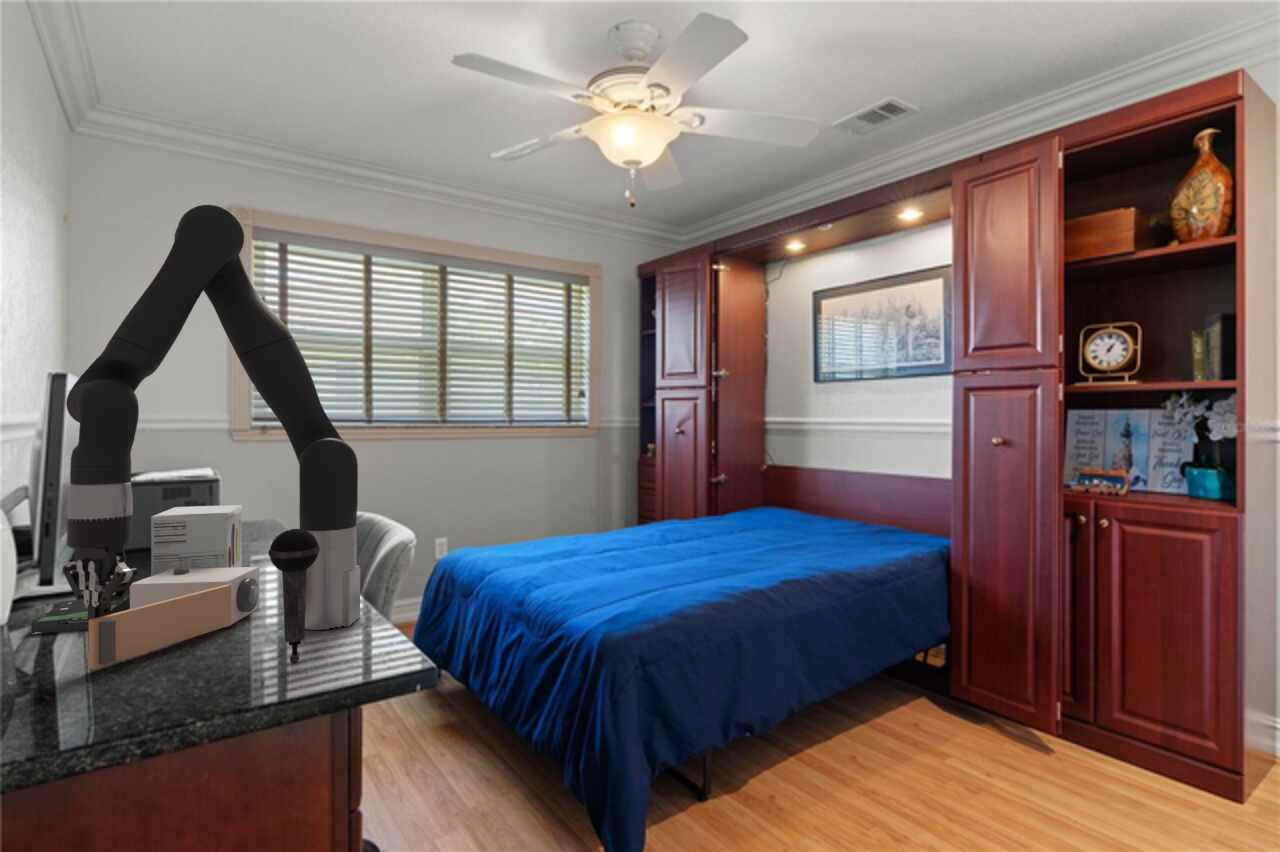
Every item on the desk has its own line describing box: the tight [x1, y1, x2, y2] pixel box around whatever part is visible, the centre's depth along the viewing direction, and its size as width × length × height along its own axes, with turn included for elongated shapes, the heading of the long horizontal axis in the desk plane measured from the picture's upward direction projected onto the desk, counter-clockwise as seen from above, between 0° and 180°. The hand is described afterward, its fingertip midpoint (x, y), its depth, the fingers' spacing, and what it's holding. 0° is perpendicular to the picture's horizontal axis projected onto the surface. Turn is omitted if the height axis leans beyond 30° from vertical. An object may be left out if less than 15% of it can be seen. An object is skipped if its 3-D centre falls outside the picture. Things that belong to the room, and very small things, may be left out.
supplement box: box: [150, 504, 243, 577], centre depth 137 cm, size 17×13×18 cm
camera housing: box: [129, 566, 260, 628], centre depth 120 cm, size 18×12×9 cm
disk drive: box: [30, 595, 130, 633], centre depth 120 cm, size 10×3×15 cm
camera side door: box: [88, 585, 232, 670], centre depth 104 cm, size 22×2×7 cm, turn 162°
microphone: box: [267, 528, 320, 664], centre depth 98 cm, size 7×7×20 cm
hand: (99, 629), depth 97 cm, fingers closed
